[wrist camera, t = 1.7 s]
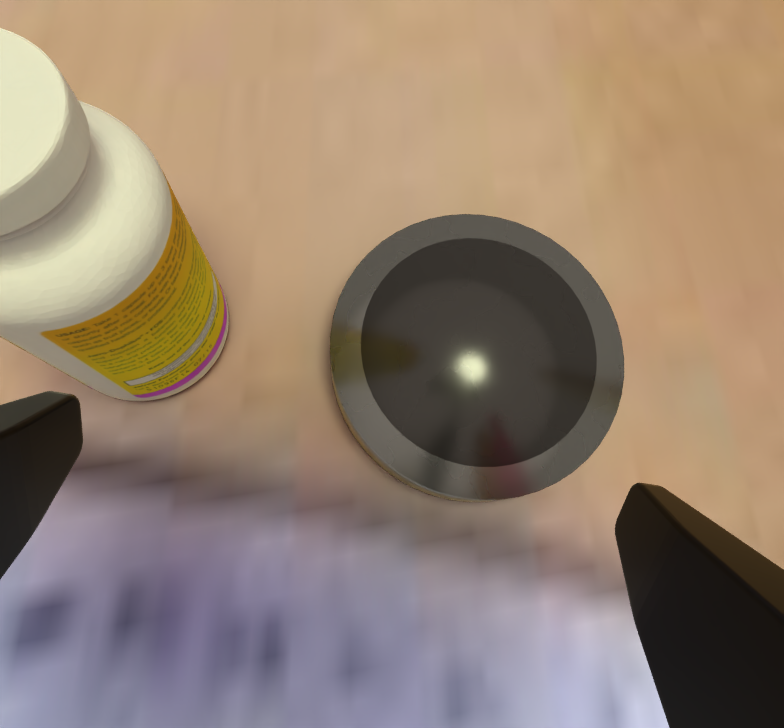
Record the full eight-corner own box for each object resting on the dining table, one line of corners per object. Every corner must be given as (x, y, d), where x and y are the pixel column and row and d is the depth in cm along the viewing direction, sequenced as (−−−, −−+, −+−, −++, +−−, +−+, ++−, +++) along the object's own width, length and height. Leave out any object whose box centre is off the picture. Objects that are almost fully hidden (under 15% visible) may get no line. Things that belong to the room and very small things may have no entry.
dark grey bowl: (492, 566, 22) (508, 570, 20) (271, 369, 24) (265, 355, 22) (652, 352, 25) (679, 337, 23) (448, 190, 27) (458, 163, 25)
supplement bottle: (252, 278, 25) (167, 31, 12) (202, 422, 23) (40, 299, 10) (104, 239, 24) (-133, -51, 12) (40, 380, 23) (-317, 206, 10)
